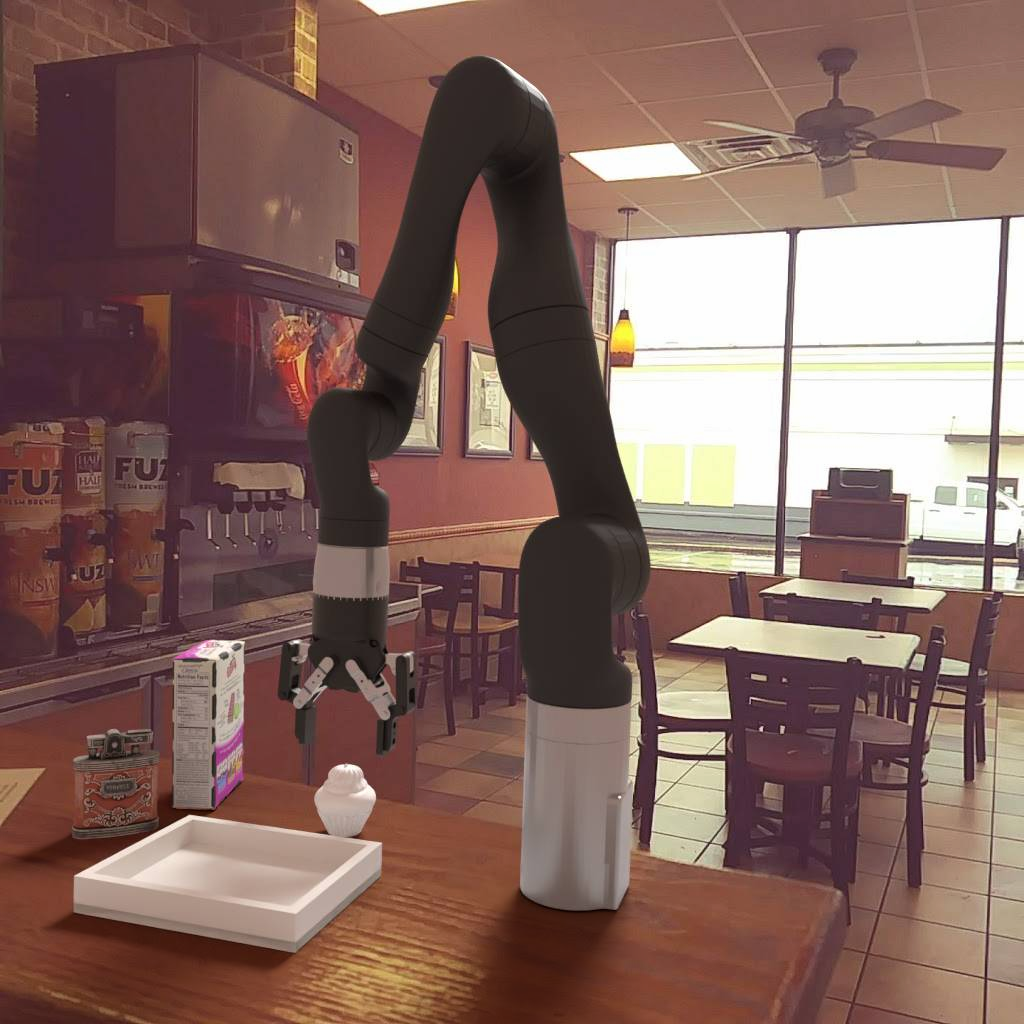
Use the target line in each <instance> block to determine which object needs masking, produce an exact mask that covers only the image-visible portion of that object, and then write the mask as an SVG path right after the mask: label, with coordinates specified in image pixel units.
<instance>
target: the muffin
mask: <svg viewBox="0 0 1024 1024" xmlns="http://www.w3.org/2000/svg"><path fill="white" fill-rule="evenodd" d="M313 799H314V801H313V802H314V804H315V806H316V808H317V809H316V812H317V813H318V815H319V818H320V819H321V822H322V823H323V825H324V827H325V829H326V832H327V833H328V835H332V836H339V837H345V838H352V837H354V836H357V835H359V834H360V833H361V831H362V830H363V828H364V827H365V824H366V822H367V820H368V819H369V817H370V816H371V813H372V811H373V807H374V805H375V803H376V801H377V796H376V791H375V789H373V788H372V786H371V785H370V784H368V781H367V780H366V779H365V777H364V772H363V770H362V768H360V767H359V766H358V765H354V764H348V763H345V764H338V765H336V766H334V767H332V768H331V770H329V772H328V774H327V779H326V780H325V781H324V783H323V785H322V786H321V787H320V788H319V789H318V790H317V791H315V794H314V798H313Z"/></svg>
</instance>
